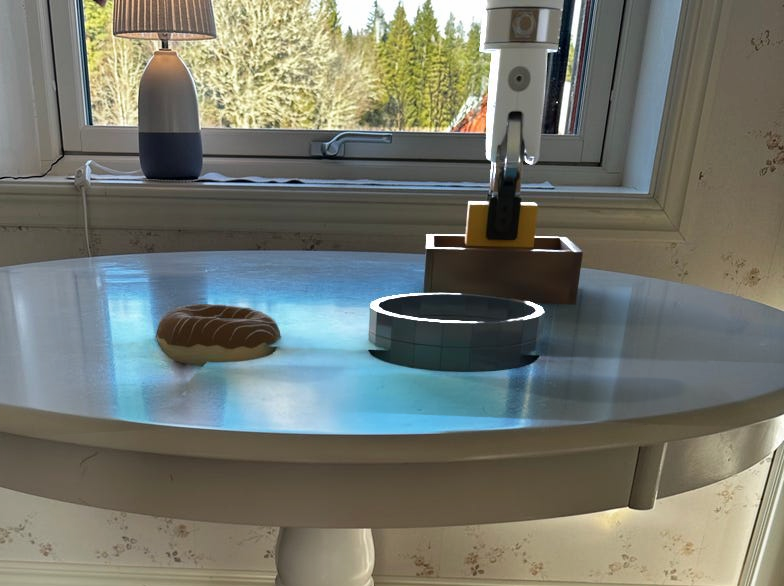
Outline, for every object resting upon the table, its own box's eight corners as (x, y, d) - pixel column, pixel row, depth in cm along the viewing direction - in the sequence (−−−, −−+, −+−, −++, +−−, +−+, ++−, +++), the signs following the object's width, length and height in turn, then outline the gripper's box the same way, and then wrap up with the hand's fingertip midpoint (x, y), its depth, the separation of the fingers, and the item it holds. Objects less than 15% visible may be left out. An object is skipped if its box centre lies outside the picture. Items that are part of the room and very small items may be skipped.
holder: (558, 300, 110) (566, 237, 107) (573, 322, 98) (583, 251, 95) (422, 296, 112) (426, 234, 109) (421, 317, 100) (426, 248, 97)
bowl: (529, 346, 88) (535, 295, 86) (545, 384, 75) (553, 325, 73) (372, 341, 89) (375, 290, 87) (363, 378, 77) (365, 319, 74)
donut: (152, 347, 86) (149, 301, 84) (268, 343, 88) (267, 298, 86) (162, 375, 77) (159, 323, 75) (291, 370, 79) (291, 319, 77)
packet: (530, 242, 103) (534, 202, 101) (533, 247, 100) (538, 205, 98) (464, 241, 104) (468, 201, 102) (466, 245, 101) (469, 204, 99)
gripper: (570, 27, 85) (543, 247, 94) (550, 40, 100) (528, 230, 109) (485, 26, 86) (466, 245, 95) (477, 40, 100) (461, 228, 109)
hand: (499, 235), depth 102 cm, fingers closed on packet, 4 cm apart
